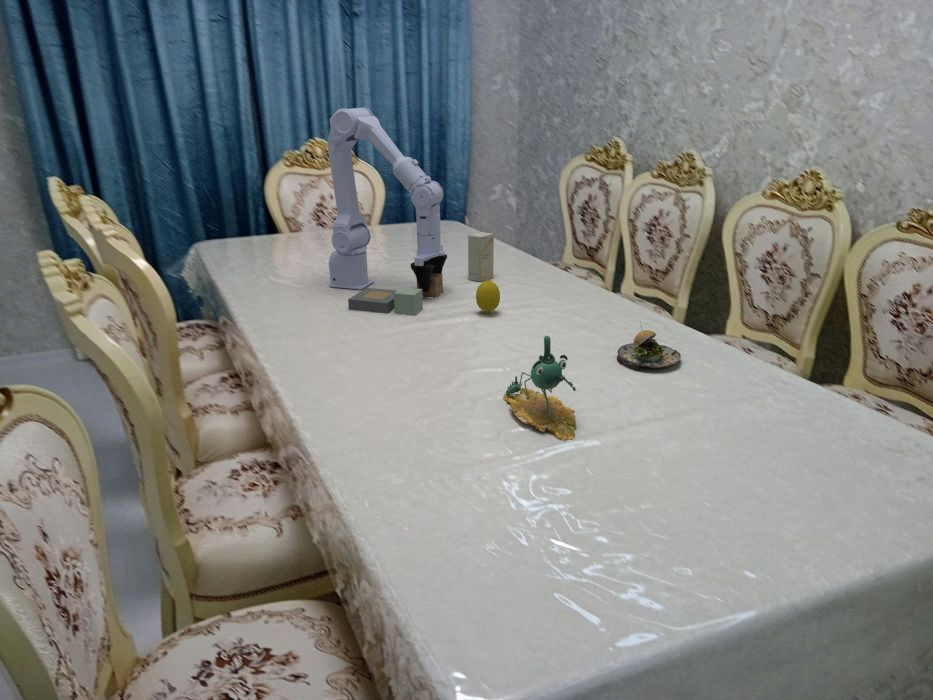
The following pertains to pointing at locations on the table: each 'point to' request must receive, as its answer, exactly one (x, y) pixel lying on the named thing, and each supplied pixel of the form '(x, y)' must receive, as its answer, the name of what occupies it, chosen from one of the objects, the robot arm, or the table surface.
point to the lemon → (488, 296)
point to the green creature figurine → (543, 397)
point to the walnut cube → (434, 286)
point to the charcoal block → (373, 300)
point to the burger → (646, 353)
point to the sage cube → (408, 301)
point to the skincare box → (480, 256)
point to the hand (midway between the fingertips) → (430, 287)
